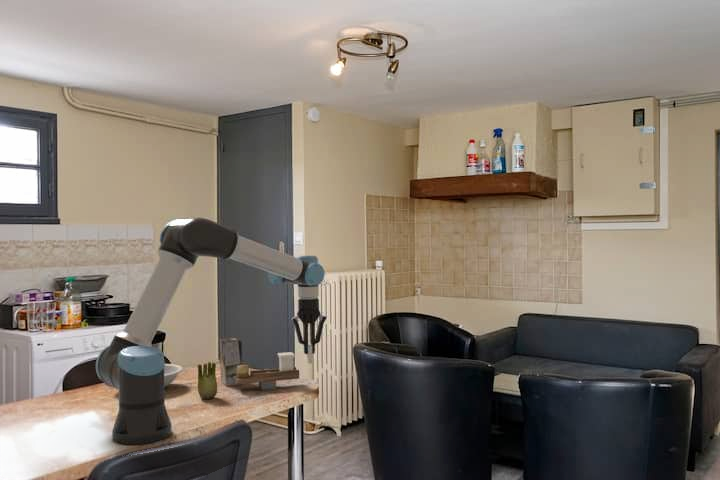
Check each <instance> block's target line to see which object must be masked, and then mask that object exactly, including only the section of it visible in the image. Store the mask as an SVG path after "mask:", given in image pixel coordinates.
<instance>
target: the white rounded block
mask: <svg viewBox="0 0 720 480" xmlns="http://www.w3.org/2000/svg"><path fill="white" fill-rule="evenodd" d="M277 357H278V362H279V366H278V368H279V371H289V370H294V368H293V367H294V358H296V355H295V354H294V353H293V351H289V352H277Z"/></svg>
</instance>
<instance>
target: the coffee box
mask: <svg viewBox="0 0 720 480" xmlns="http://www.w3.org/2000/svg"><path fill="white" fill-rule="evenodd" d="M242 341H243V340H241V339H240V338H238V337H225V338H220V339H219V343H220V345H219V347H220V352H219V353H220V382H221V383H222V384H223V385H224V386H226V387H229V386H237V385H239V386H241V384H236V382H235V376H237V366H239V365H243V349H242V348H243V346H242V343H243V342H242Z"/></svg>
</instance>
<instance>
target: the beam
mask: <svg viewBox="0 0 720 480" xmlns="http://www.w3.org/2000/svg"><path fill="white" fill-rule="evenodd" d="M249 367H250V365H249V364H242V365H239V366H237V376H235V382H236V384H240V385H246V384H255V383H258V388H259V389H260V390H261V392H267V390H268V391H276V390H277V381H288V380H297V379H298V380H299V379H300V370H299V369H297V367H296V366H293V368H294V370H289V371H279V367H278V368H269V369H268V368H264V369H256V370H254V369H253V370H250V369H249ZM249 372H250V373H249Z"/></svg>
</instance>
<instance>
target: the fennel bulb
mask: <svg viewBox="0 0 720 480" xmlns="http://www.w3.org/2000/svg"><path fill="white" fill-rule="evenodd" d="M216 367H217V362H211V361H208V362H205V363H203V364H202V363H199V364H197V378H198V379H197V392H198V395H199V397H200V398H201V399H204V400H211V399H214V398H215V397H216V396H217V394H218V381H217V376H216Z"/></svg>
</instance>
